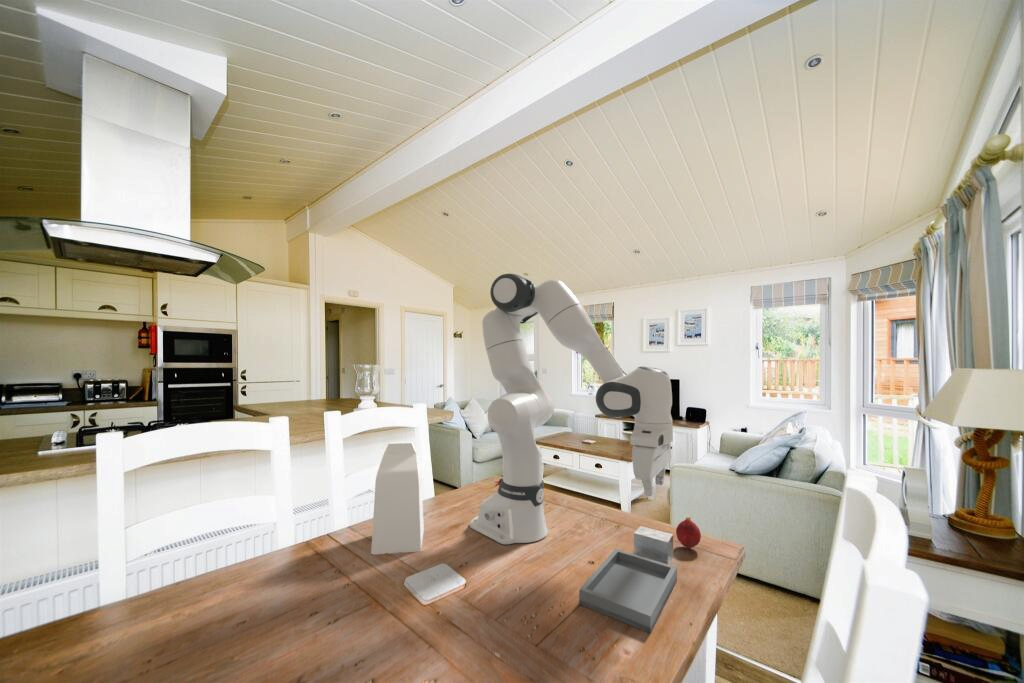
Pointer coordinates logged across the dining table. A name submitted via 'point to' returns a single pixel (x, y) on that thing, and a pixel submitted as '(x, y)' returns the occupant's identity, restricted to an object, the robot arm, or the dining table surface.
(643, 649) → the dining table surface
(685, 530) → the onion
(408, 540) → the milk
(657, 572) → the tray
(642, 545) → the block
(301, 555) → the dining table surface
